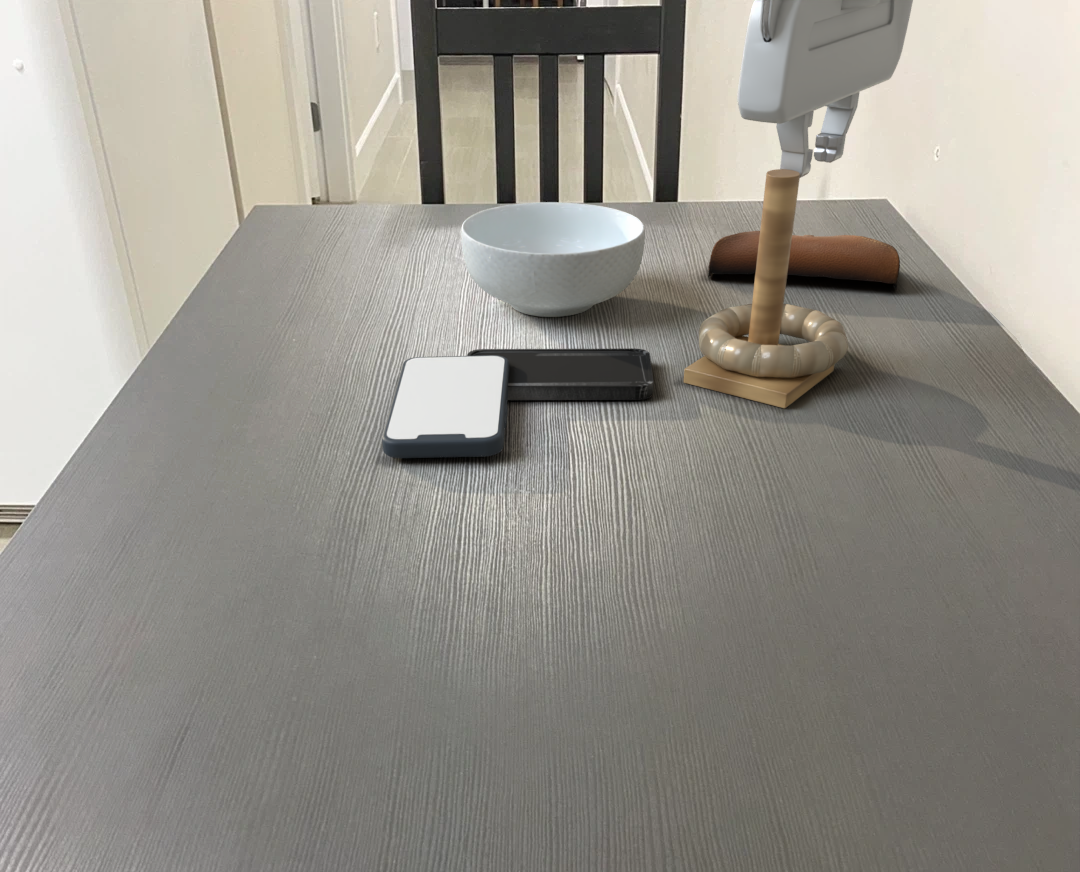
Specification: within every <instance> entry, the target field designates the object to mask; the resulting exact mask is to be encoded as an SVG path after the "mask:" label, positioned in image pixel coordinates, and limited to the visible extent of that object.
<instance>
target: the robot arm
mask: <svg viewBox="0 0 1080 872" xmlns="http://www.w3.org/2000/svg"><path fill="white" fill-rule="evenodd" d="M913 3H914V0H753V2H752V5H751V9H750V12H749V16H748V21H747V26H746V31H745V37H744V44H743V51H742V58H741V63H740V70H739V79H738V86H737V95H736V96H737V98H736V102H737V106H738V111H739V114H740V116H741V118H742V119H743V120H747V121H753V122H759V123H767V124H776V131H777V137H778V140H779V141H778V142H779V146H780V150H781V156H780V166H779V169H787V170H794V171H797V172H799V173H800V179H801V178H803V177H805V176H808V174H809V173H810V172H811V169H812V164H811V163H812V159H813V157H814V160H815V161H817V162H821V163H822V162H825V163H830V164H831V163H833V162H835V161H837V160H839V159H841V158H842V157H843V155H844V152H845V151H844V149H845V145H846V137H847V134H848V131H849V129H850V126H851V124H852V121H853V119H854V116H855V114H856V111H857V109H858V104H859V99H860V92H863V91H864V90H867V89H870V88H873V87H875V86H877V85H879V84H882V83H884V82H887V81H889V80H890V79H892V77H893V76H894V73H895V71H896V69H897V66H898V64H899V62H900V59H901V56H902V52H903V48H904V44H905V40H906V35H907V31H908V26H909V22H910V18H911V17H910V16H911V12H912V8H913ZM824 107H826V110H825V113H824V118H823V121H822V122H823V123H822V126H821V129H820V133H817V134H816V135H815V143H814V146H815V147H814V149H812V148H809V146H810V145H809V128H810V127H812V125H813V119H814V111H816V110H820V109H821V108H824Z"/></svg>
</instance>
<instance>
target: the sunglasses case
mask: <svg viewBox="0 0 1080 872" xmlns="http://www.w3.org/2000/svg"><path fill="white" fill-rule="evenodd" d="M759 237H760V230H751V231H743V232H737V233H734V234H730V235H725V236H723V237H721V238H719V239H718V240H717V241H716V242H715V243H714V245H713V247H712V250H711V253H710V258H709V263H708V271H707V272H708V276H707V278H709V277H713V274H714V275H753V274H754V275H755V273H756V264H757V255H758V246H759ZM899 254H900V253H898V251H897V249H896V248H895V247H894V246H893V245H891V244H889V243H887V242H884V241H880V240H878V239H875V238H871V237H868V236H867V237H866V236H862V235H853V234H841V235H840V234H839V235H838V234H837V235H829V236H828V235H827V236H826V235H825V236H817V235H816V236H815V235H813V234H803V235H796V234H792V242H791V250H790V257H789V265H788V273H787V276H789V275H790V276H799V277H824V278H829V279H836V280H852V281H864V282H865V281H866V282H877V283H883V284H889V285H890V284H893V288H894V289H895V290H896V291H897V288H898V283H899V282H898V281H899V275H900V269H901V259H900V255H899Z"/></svg>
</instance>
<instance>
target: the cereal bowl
mask: <svg viewBox="0 0 1080 872" xmlns="http://www.w3.org/2000/svg"><path fill="white" fill-rule="evenodd" d="M645 239H646V228H645V224H644V223H643V221H642V220H641V219H640V218H638V217H637V216H635V215H633V214H631V213H628V212H626V211H623V210H620V209H616V208H613V207H608V206H602V205H595V204H587V203H579V202H577V203H576V202H563V201H562V202H561V201H560V202H559V201H558V202H557V201H547V202H546V201H540V202H524V203H523V202H522V203H512V204H506V205H500V206H495V207H491V208H487V209H484V210H480V211H478V212H476V213H474V214H472V215H470V216H469V217H467V218H466V219H465V220H464V221H463V223H462V225H461V228H460V243H461V253H462V258H463V261H464V265H465V269H466V271H467V273H468V275H469V277H471V279H472V280H473V282H474V283H475V284H476V285H477V286H478V288H480V289H481V290H482V291H484V292H485V293H487V294H488V295H489V296H491V297H492V298H495V299H497V300H499V301H502V302H503V303H506V304H509V305H510V307H511V308H512V309H514V310H515V311H516V312H519V313H522V314H525V315H528V316H533V317H534V316H535V317H540V318H541V317H543V318H559V317H560V318H561V317H569V316H575V315H579V314H581V313H585V312H587V311H588V310H590V309H592V307H593V306H594V305H597V304H600V303H604V302H606V301H609V300H610V299H612V298H614V297H616V296H617V295H619V294H620V293H621V292H623V291H624V290H625V289H627V288H628V287H629V286H630V284H631V283H632V282H633V281H634V279H635V278H636V276H637V274H638V272H639V270H640V268H641V265H642V260H643V256H644V251H645V243H646V242H645Z"/></svg>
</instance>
